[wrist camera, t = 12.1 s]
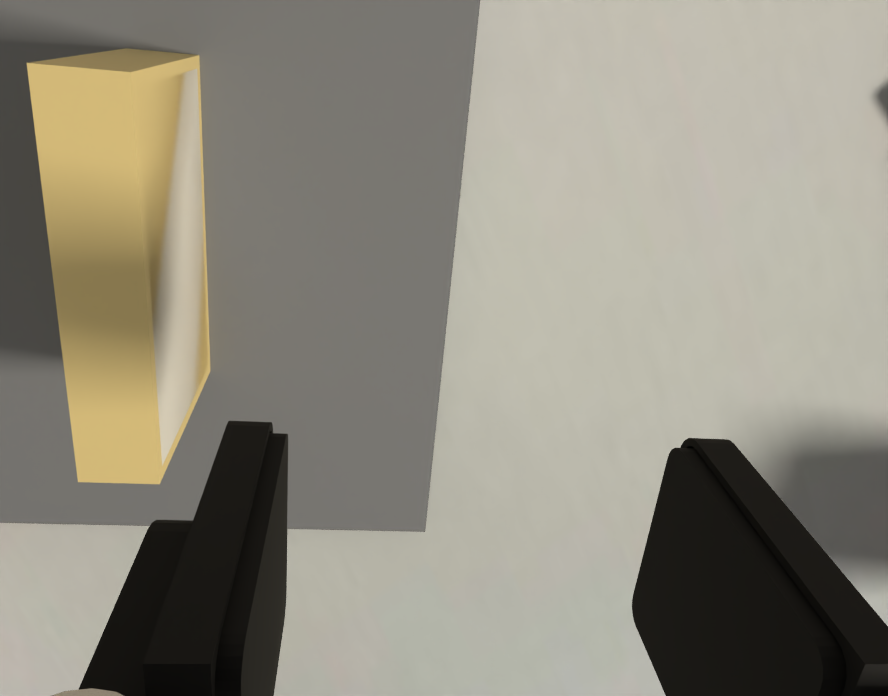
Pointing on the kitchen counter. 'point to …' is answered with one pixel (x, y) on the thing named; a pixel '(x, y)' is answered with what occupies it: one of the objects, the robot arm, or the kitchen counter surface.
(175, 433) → the card deck
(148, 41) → the mat
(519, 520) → the kitchen counter surface
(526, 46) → the kitchen counter surface
